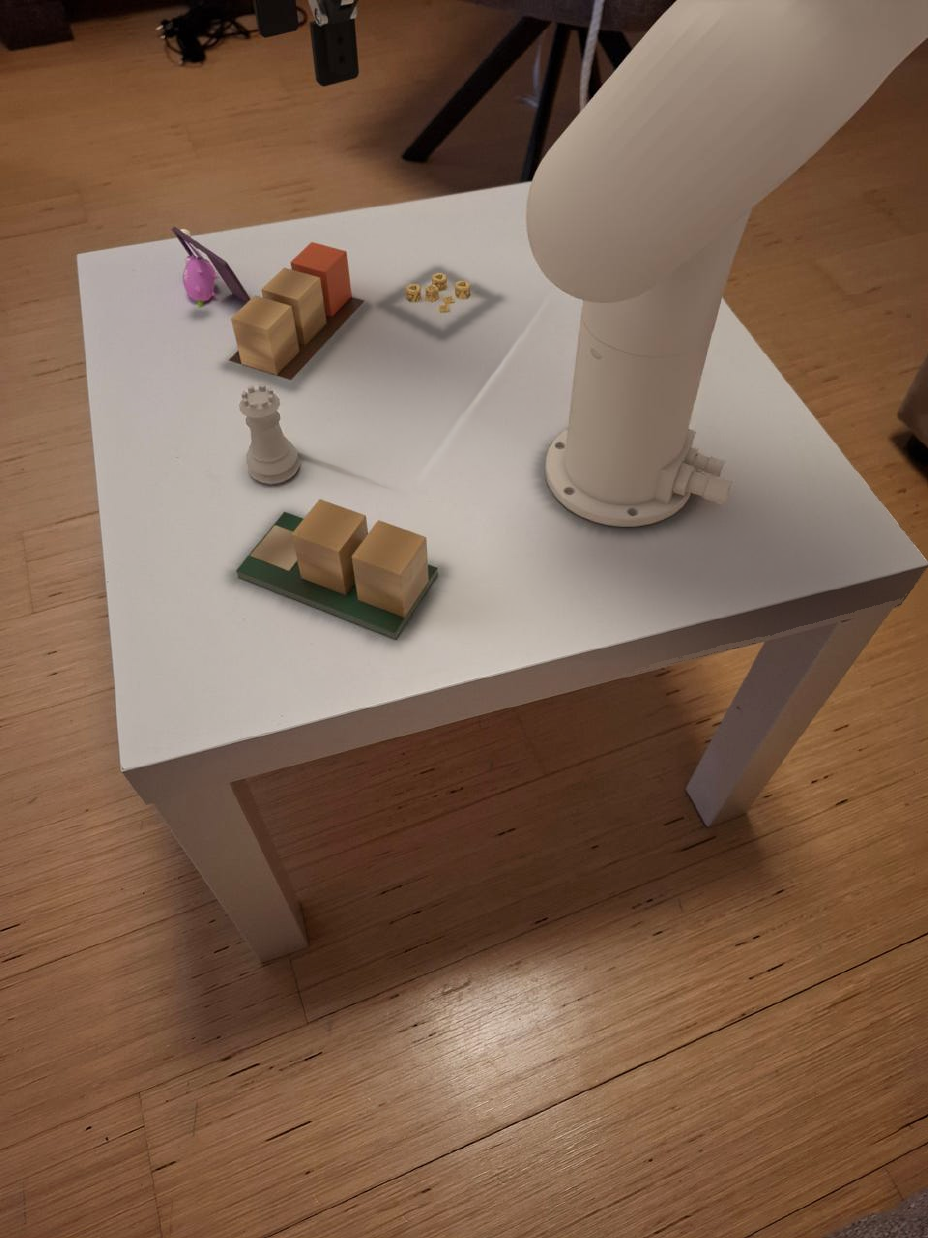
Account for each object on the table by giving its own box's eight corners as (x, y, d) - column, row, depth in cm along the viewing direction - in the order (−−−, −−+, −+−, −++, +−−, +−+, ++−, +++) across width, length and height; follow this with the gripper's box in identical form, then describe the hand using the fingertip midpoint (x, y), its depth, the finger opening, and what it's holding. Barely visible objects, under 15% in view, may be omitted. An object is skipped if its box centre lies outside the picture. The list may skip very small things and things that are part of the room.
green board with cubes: (438, 574, 71) (436, 523, 66) (395, 639, 67) (390, 590, 63) (285, 517, 75) (273, 465, 70) (237, 577, 71) (221, 526, 66)
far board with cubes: (365, 307, 92) (360, 254, 88) (292, 387, 85) (282, 334, 80) (306, 290, 94) (298, 237, 90) (229, 366, 87) (216, 313, 82)
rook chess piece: (256, 493, 76) (237, 419, 70) (242, 459, 79) (222, 385, 73) (307, 478, 78) (292, 403, 71) (291, 445, 80) (276, 370, 74)
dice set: (403, 305, 93) (402, 288, 91) (437, 283, 95) (436, 266, 93) (440, 324, 91) (440, 307, 89) (473, 301, 93) (474, 284, 91)
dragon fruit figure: (232, 256, 86) (178, 220, 90) (193, 293, 85) (140, 256, 89) (263, 305, 92) (211, 269, 96) (227, 340, 91) (176, 303, 95)
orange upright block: (352, 296, 92) (346, 250, 88) (332, 317, 90) (325, 271, 86) (318, 286, 93) (311, 241, 89) (297, 307, 91) (289, 261, 87)
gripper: (396, -236, 51) (409, 88, 65) (265, -290, 60) (301, 6, 74) (274, -219, 49) (314, 114, 62) (157, -278, 57) (214, 26, 71)
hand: (307, 55), depth 68 cm, fingers open, 9 cm apart
